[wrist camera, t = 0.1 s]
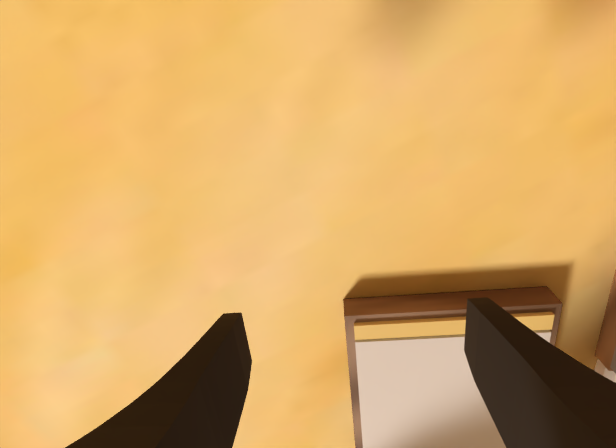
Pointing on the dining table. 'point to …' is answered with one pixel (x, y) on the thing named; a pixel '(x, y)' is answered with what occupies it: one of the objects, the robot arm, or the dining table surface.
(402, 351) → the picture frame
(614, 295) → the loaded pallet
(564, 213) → the dining table surface
